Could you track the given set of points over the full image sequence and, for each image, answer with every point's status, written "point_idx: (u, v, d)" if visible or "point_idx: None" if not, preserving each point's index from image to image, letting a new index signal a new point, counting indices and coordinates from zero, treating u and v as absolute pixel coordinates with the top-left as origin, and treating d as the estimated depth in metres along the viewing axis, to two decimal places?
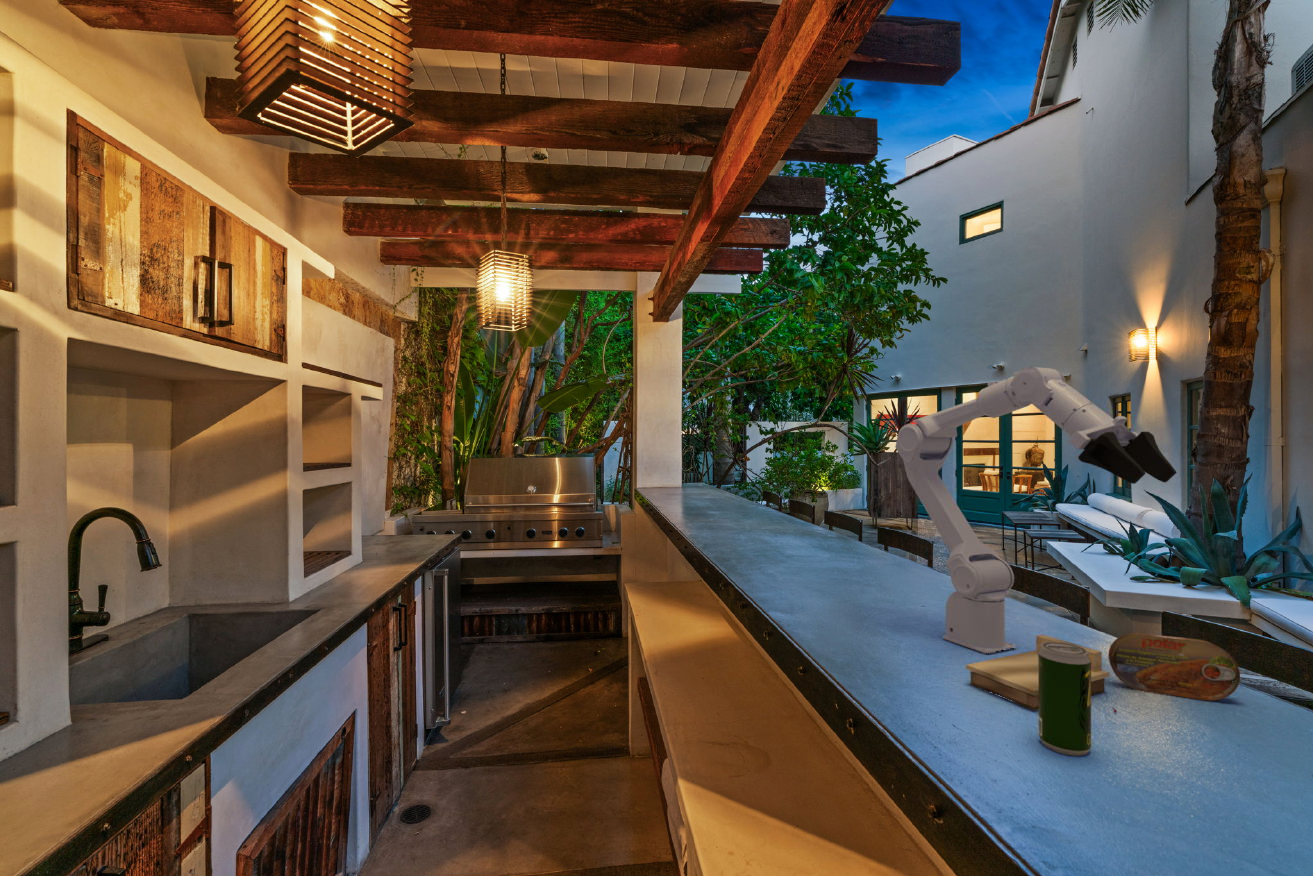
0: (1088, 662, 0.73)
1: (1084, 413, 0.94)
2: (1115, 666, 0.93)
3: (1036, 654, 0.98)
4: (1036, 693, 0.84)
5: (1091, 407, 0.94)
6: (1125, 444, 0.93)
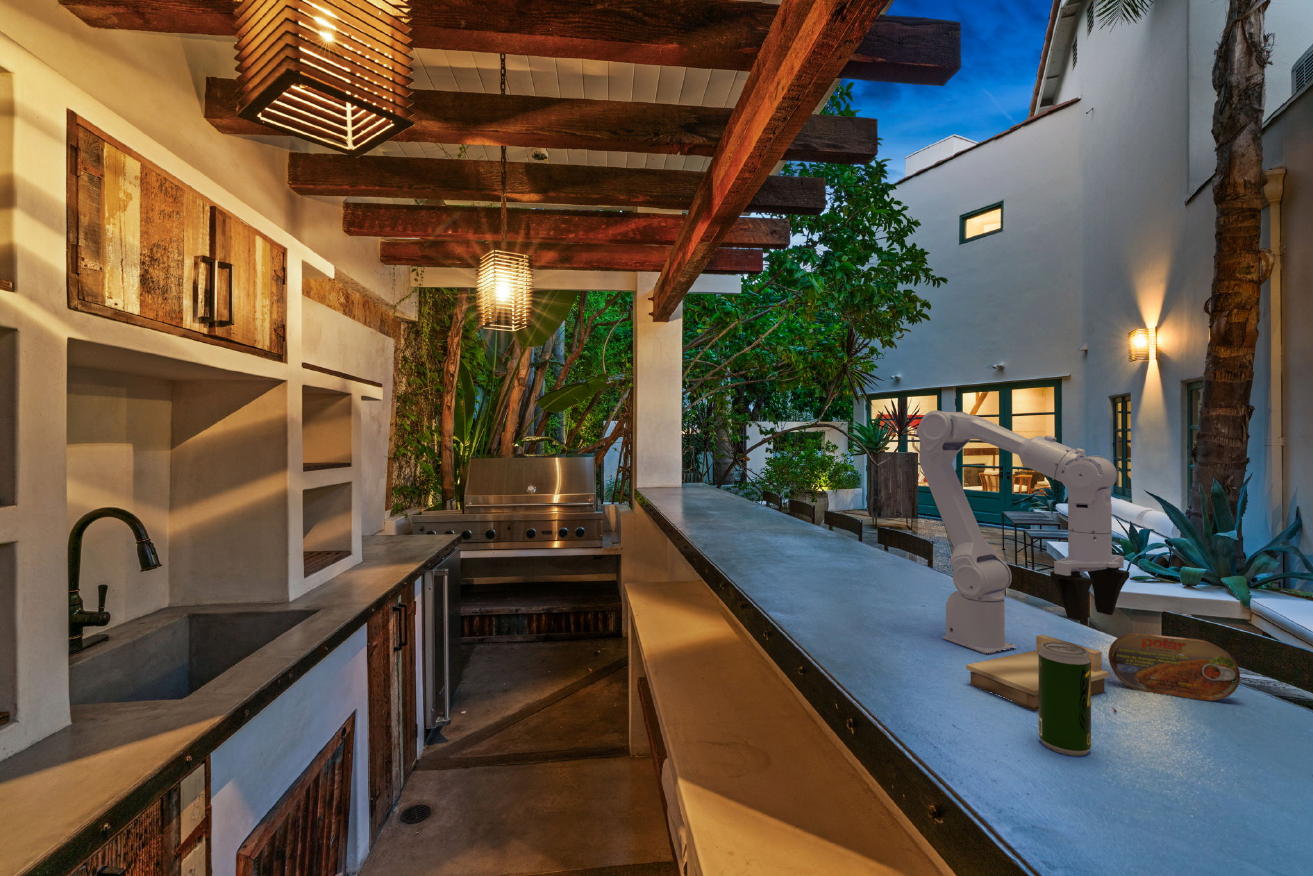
0: (1088, 662, 0.73)
1: (1093, 540, 0.95)
2: (1115, 666, 0.93)
3: (1036, 654, 0.98)
4: (1036, 693, 0.84)
5: (1104, 538, 0.95)
6: (1102, 568, 0.99)
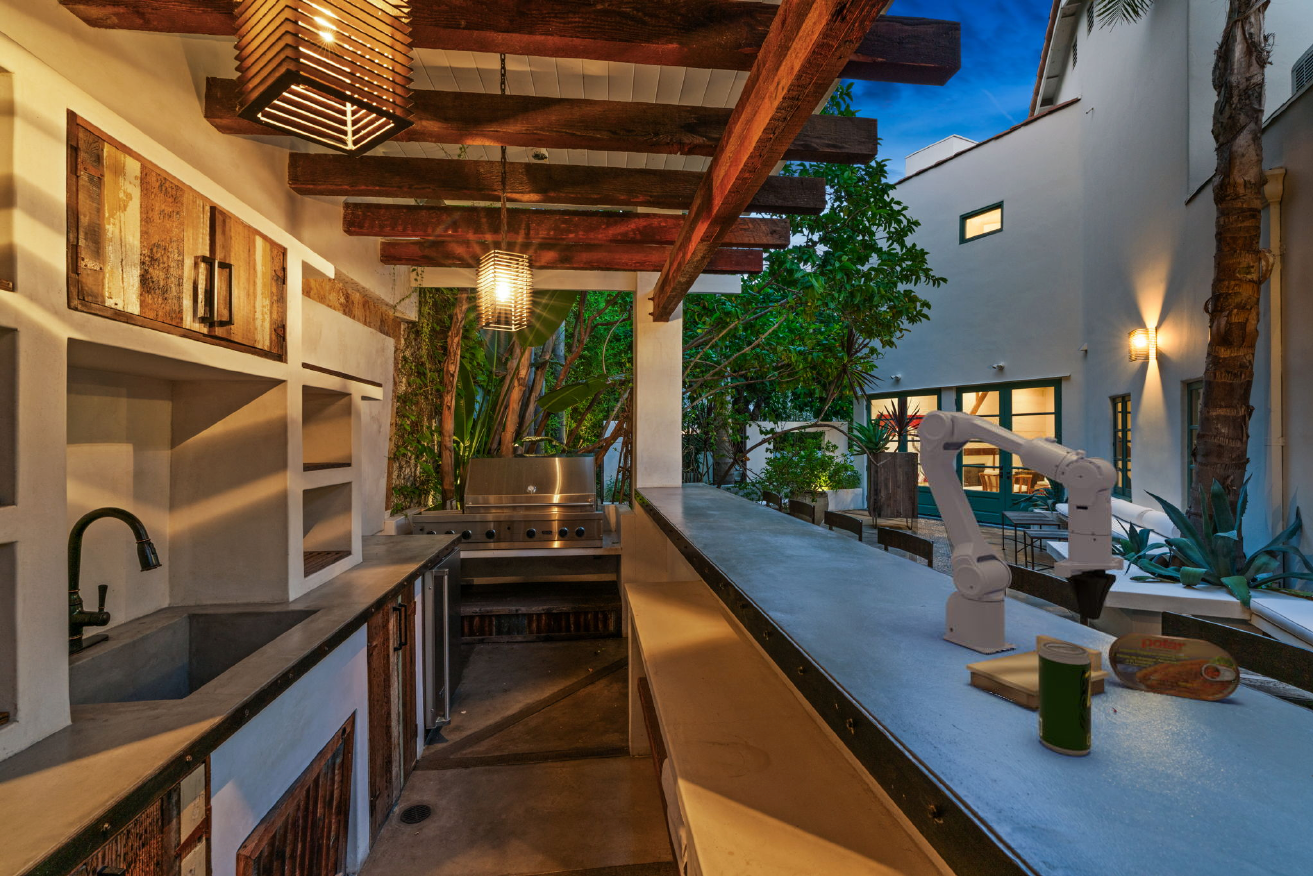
0: (1088, 662, 0.73)
1: (1093, 542, 0.95)
2: (1115, 666, 0.93)
3: (1036, 654, 0.98)
4: (1036, 693, 0.84)
5: (1104, 540, 0.95)
6: None
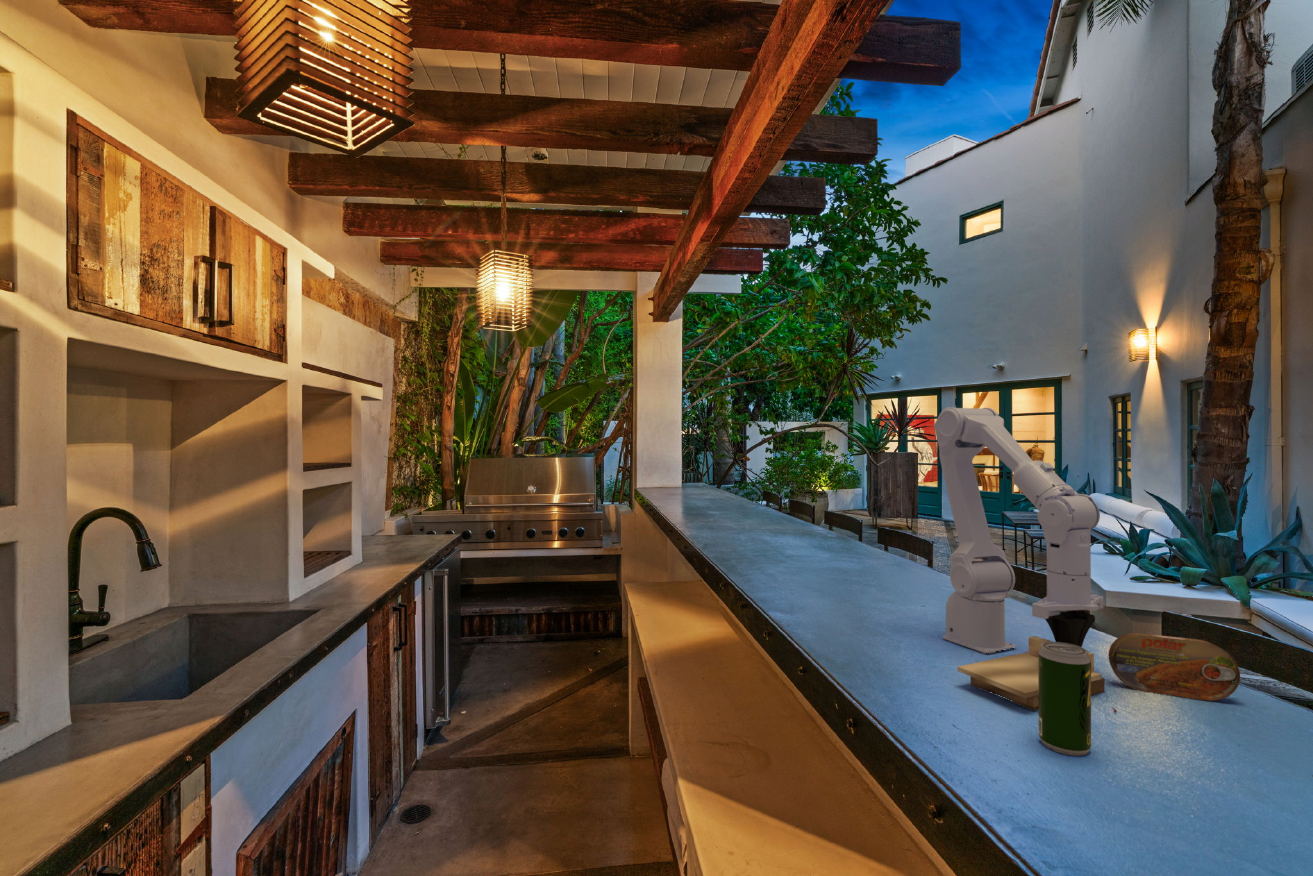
0: (1088, 662, 0.73)
1: (1071, 582, 0.93)
2: (1115, 666, 0.93)
3: (1028, 656, 0.98)
4: (1027, 695, 0.83)
5: (1082, 580, 0.93)
6: None
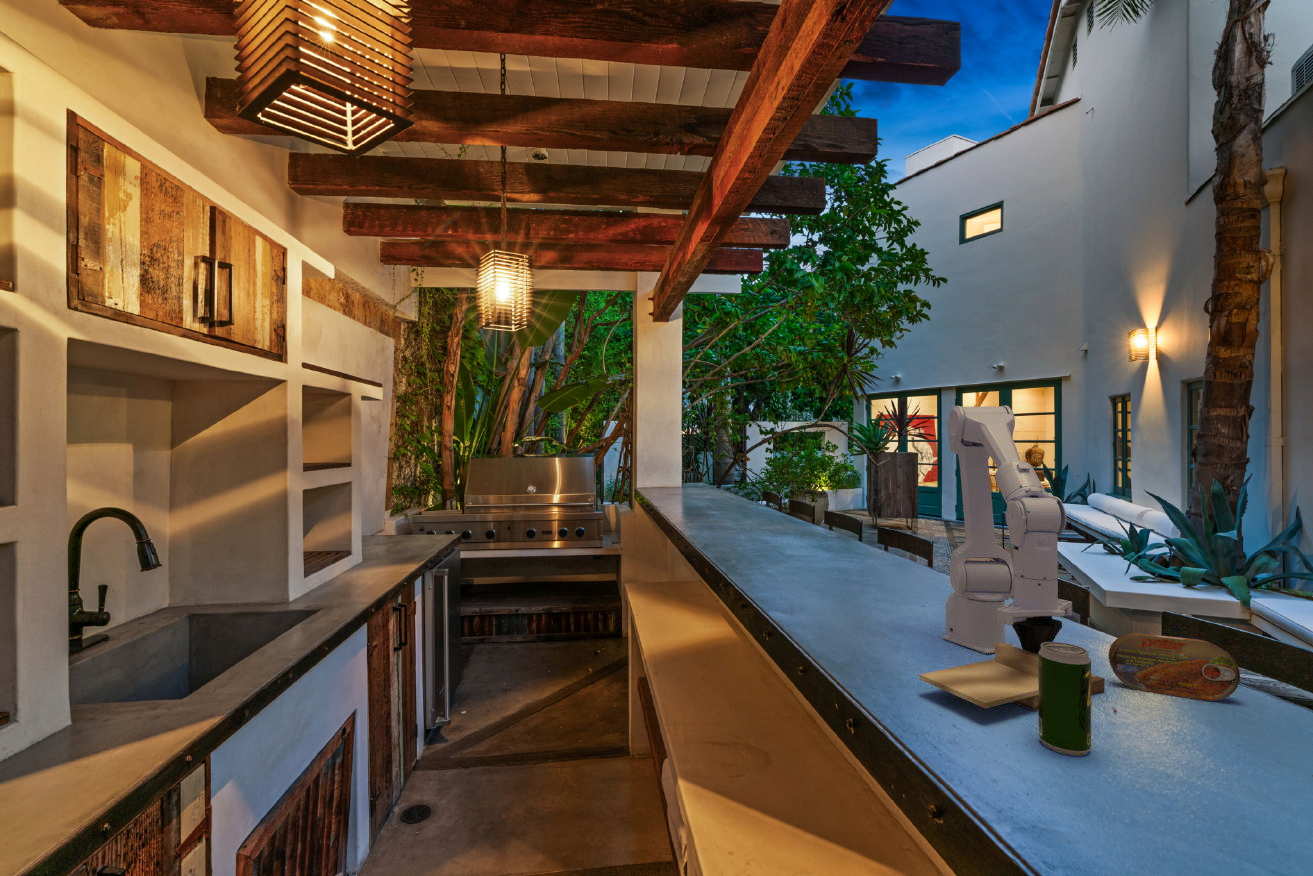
0: (1088, 662, 0.73)
1: (1037, 587, 0.90)
2: (1115, 666, 0.93)
3: (994, 663, 0.94)
4: (987, 705, 0.80)
5: (1048, 585, 0.89)
6: None
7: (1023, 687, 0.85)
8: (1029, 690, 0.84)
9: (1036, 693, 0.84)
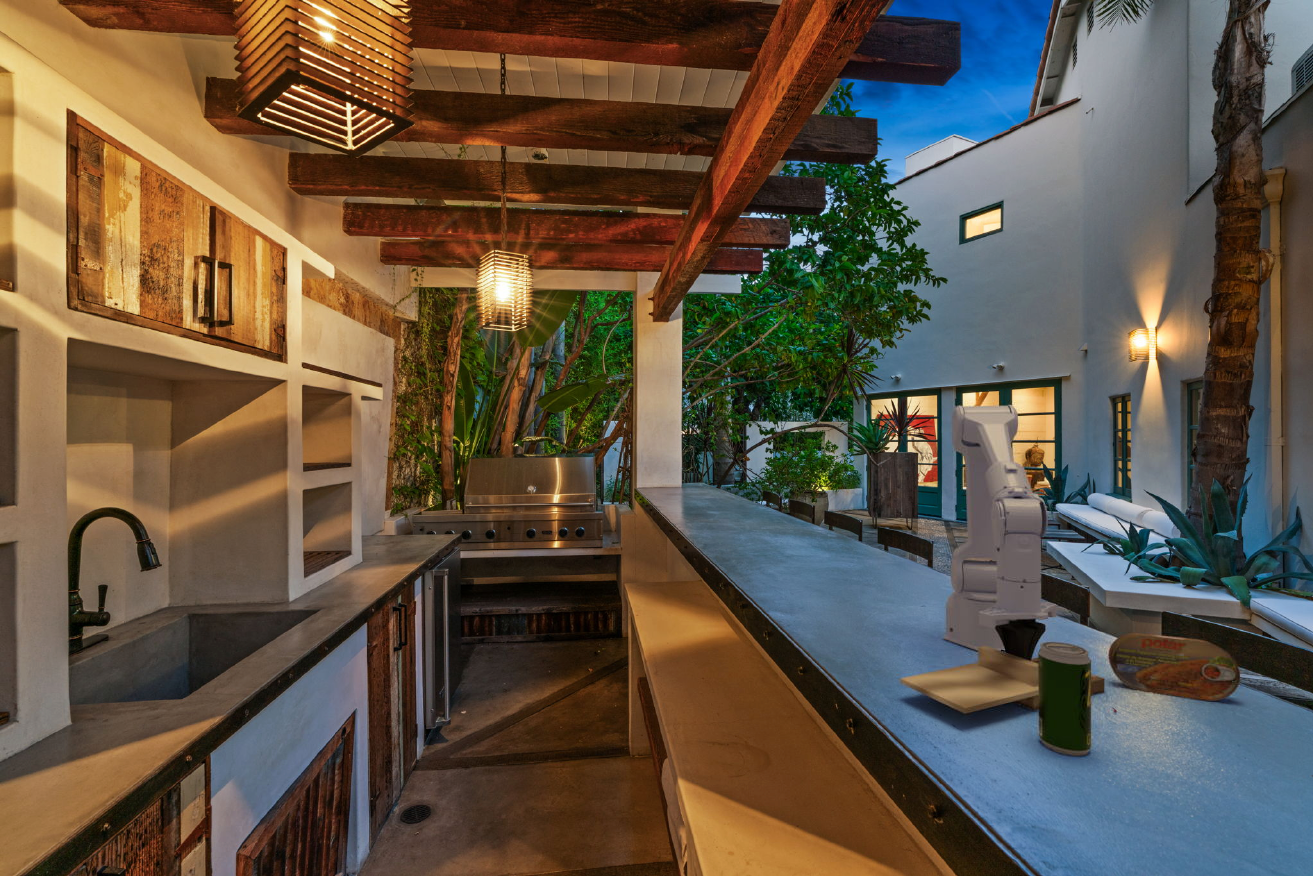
0: (1088, 662, 0.73)
1: (1020, 589, 0.88)
2: (1115, 666, 0.93)
3: (977, 666, 0.93)
4: (967, 710, 0.79)
5: (1031, 587, 0.88)
6: None
7: (1005, 691, 0.84)
8: (1011, 695, 0.83)
9: (1018, 698, 0.83)
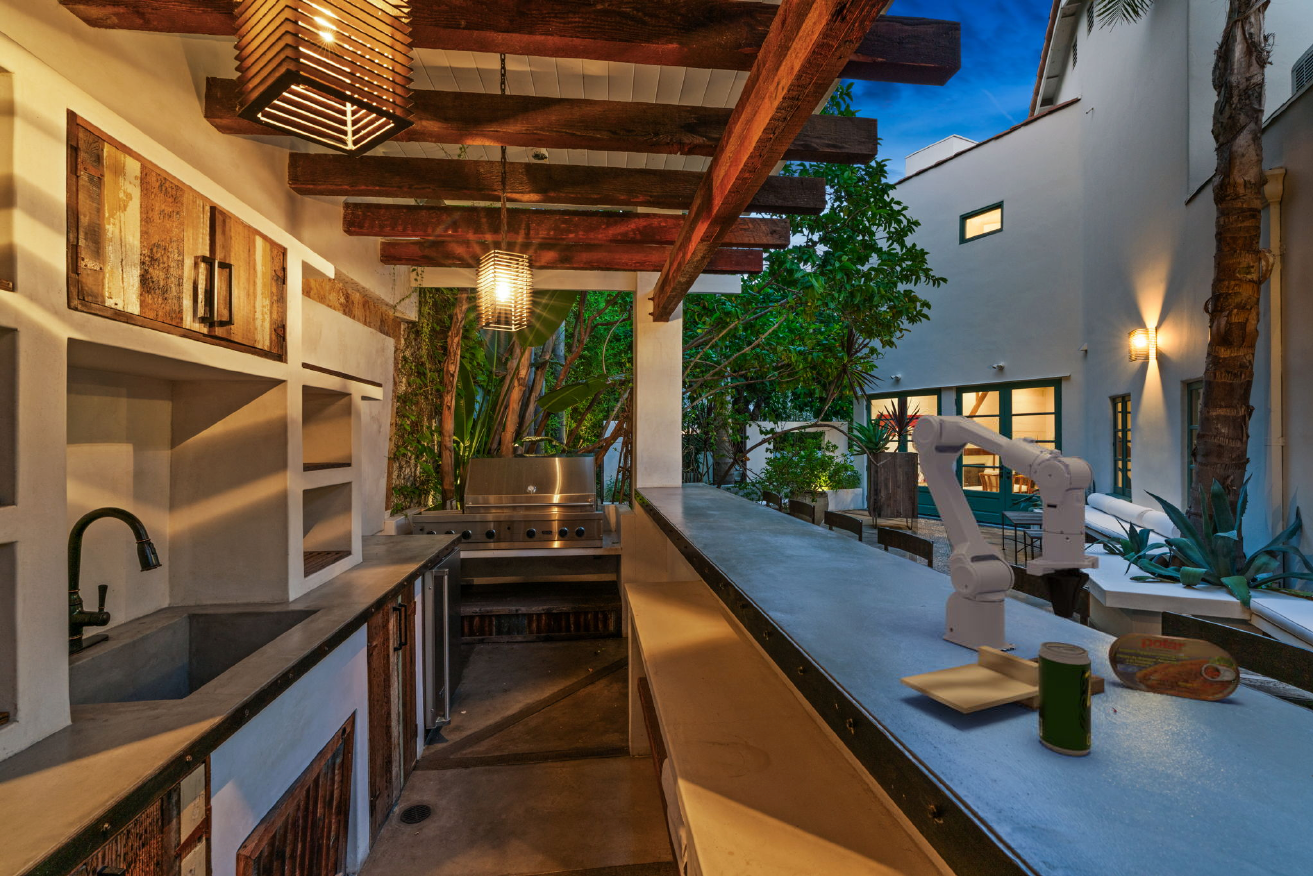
0: (1088, 662, 0.73)
1: (1065, 541, 0.95)
2: (1115, 666, 0.93)
3: (977, 666, 0.93)
4: (967, 710, 0.79)
5: (1076, 538, 0.95)
6: None
7: (1005, 691, 0.84)
8: (1011, 695, 0.83)
9: (1018, 698, 0.83)
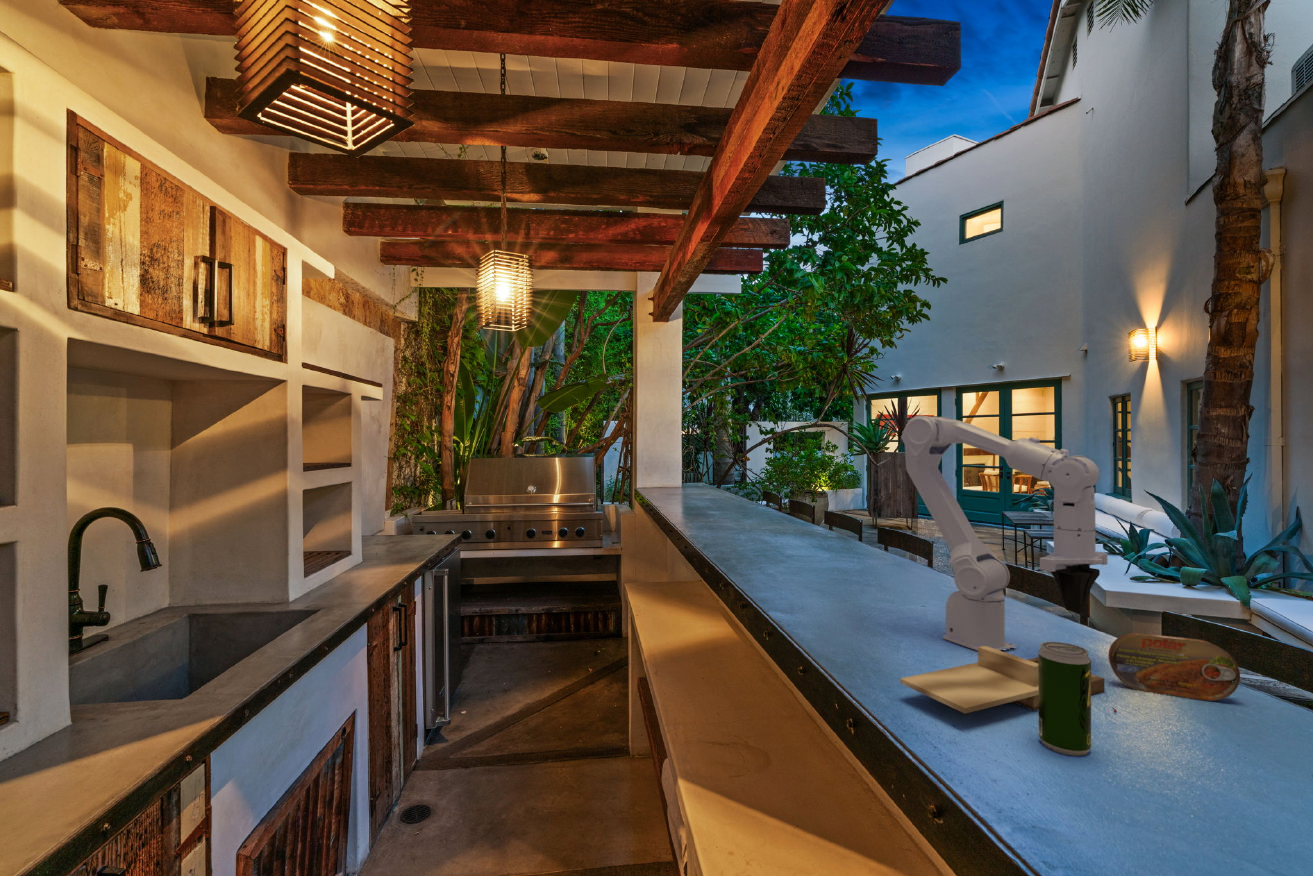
0: (1088, 662, 0.73)
1: (1077, 537, 0.98)
2: (1115, 666, 0.93)
3: (977, 666, 0.93)
4: (967, 710, 0.79)
5: (1087, 535, 0.98)
6: None
7: (1005, 691, 0.84)
8: (1011, 695, 0.83)
9: (1018, 698, 0.83)
